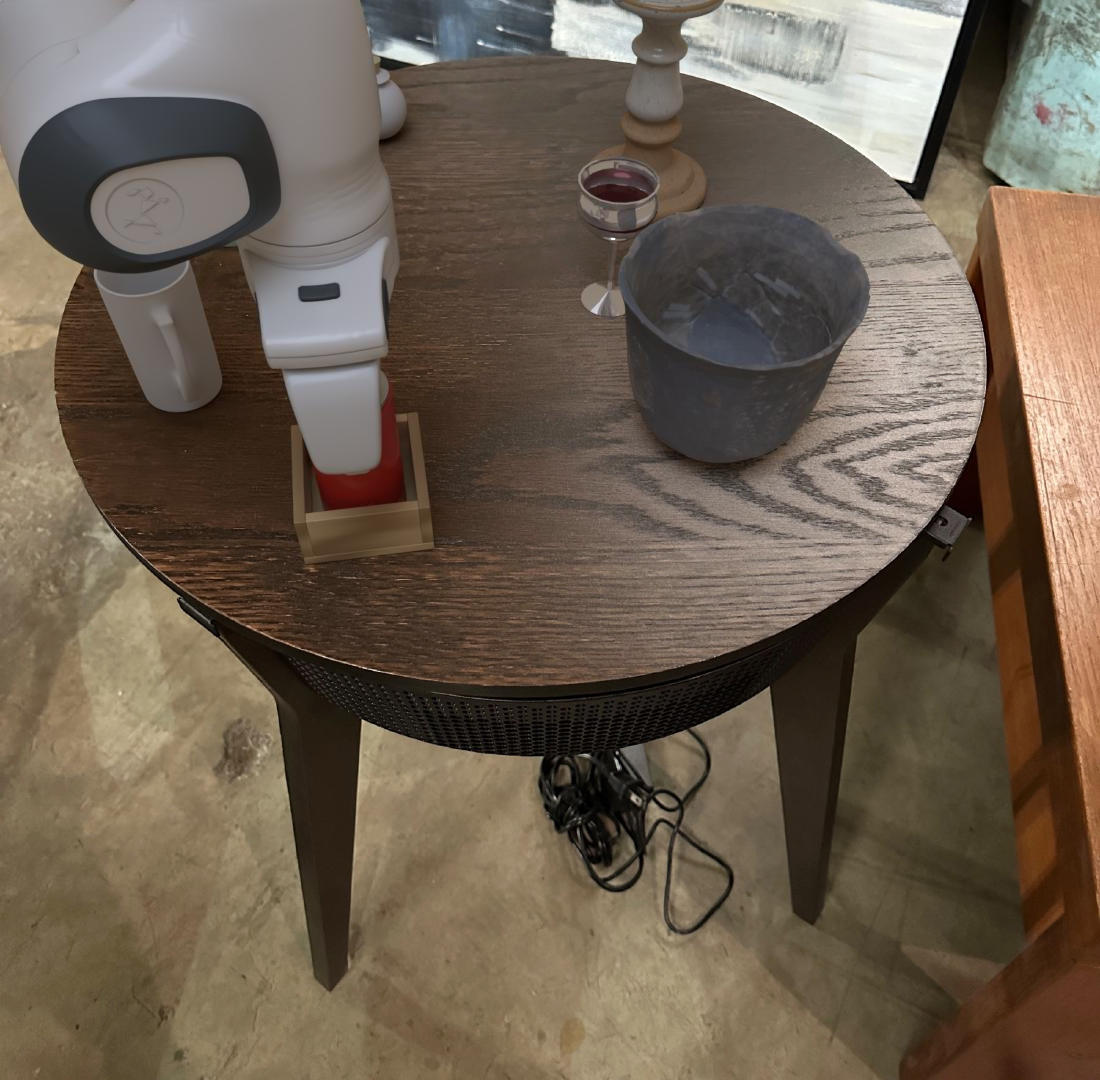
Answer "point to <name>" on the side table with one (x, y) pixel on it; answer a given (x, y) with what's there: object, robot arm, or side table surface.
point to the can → (378, 482)
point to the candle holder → (661, 102)
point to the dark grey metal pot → (736, 325)
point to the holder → (362, 508)
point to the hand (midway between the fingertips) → (352, 414)
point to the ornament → (389, 102)
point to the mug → (164, 335)
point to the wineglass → (615, 217)
